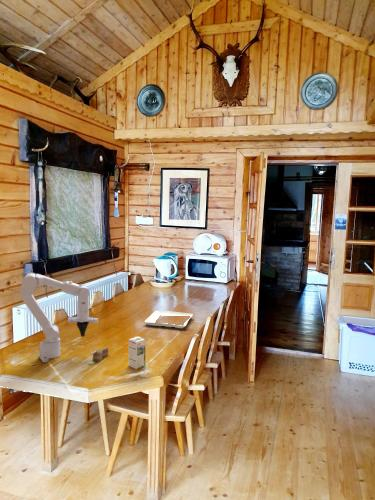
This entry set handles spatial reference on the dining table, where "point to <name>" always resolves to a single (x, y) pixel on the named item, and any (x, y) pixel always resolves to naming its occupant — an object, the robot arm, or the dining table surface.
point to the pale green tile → (91, 362)
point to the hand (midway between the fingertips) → (82, 335)
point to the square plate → (156, 314)
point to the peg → (99, 354)
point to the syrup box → (137, 352)
